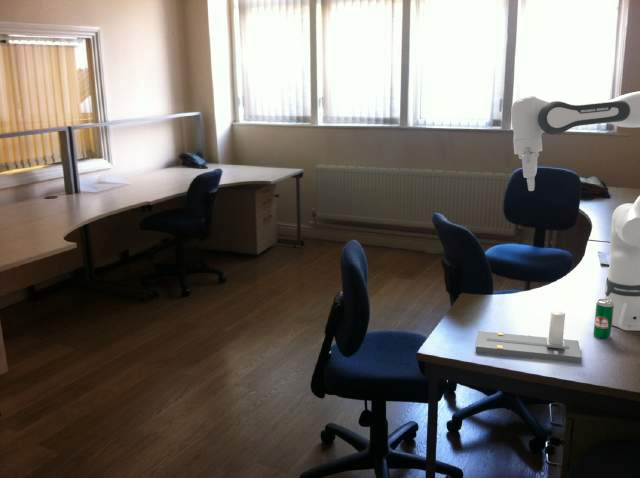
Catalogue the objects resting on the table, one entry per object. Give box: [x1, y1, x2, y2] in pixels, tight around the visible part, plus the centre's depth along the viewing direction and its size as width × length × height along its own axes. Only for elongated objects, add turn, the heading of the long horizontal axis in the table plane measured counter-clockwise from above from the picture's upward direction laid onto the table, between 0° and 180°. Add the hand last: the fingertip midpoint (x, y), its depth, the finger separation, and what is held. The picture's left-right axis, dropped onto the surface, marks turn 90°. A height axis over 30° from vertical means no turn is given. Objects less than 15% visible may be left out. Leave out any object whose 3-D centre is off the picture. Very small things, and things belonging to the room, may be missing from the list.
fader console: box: [475, 330, 583, 365], centre depth 195 cm, size 30×12×2 cm, turn 73°
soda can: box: [593, 298, 614, 340], centre depth 202 cm, size 5×5×12 cm
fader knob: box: [545, 310, 566, 349], centre depth 191 cm, size 5×5×10 cm
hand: (531, 189), depth 210 cm, fingers open, 8 cm apart
